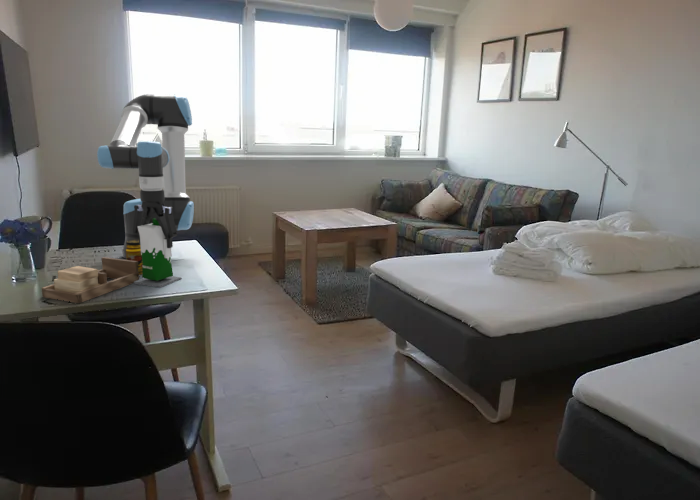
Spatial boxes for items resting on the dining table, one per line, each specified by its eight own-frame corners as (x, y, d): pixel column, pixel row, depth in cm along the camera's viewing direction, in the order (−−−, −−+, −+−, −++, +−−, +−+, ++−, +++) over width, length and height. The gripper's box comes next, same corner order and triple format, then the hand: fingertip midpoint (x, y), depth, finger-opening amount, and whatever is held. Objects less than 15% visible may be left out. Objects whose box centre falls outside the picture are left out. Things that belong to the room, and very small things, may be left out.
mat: (155, 275, 182) (155, 273, 182) (181, 278, 179) (181, 277, 178) (133, 283, 172) (133, 281, 172) (160, 287, 168) (160, 285, 168)
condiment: (134, 277, 179) (132, 244, 177) (118, 273, 183) (116, 241, 181) (151, 272, 185) (149, 240, 183) (136, 269, 190) (133, 237, 187)
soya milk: (177, 275, 177) (173, 218, 172) (156, 282, 169) (152, 222, 165) (158, 272, 181) (155, 216, 176) (137, 278, 173) (133, 219, 168)
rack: (105, 276, 180) (104, 257, 178) (139, 281, 175) (137, 261, 173) (42, 297, 156) (40, 275, 155) (79, 303, 152) (76, 280, 150)
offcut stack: (76, 288, 166) (73, 265, 164) (101, 292, 163) (99, 268, 161) (54, 296, 158) (51, 271, 156) (80, 300, 155) (78, 275, 153)
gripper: (117, 188, 168) (122, 254, 173) (171, 192, 161) (175, 261, 166) (133, 186, 175) (138, 250, 180) (186, 190, 168) (190, 256, 173)
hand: (156, 255), depth 173 cm, fingers closed on soya milk, 9 cm apart
